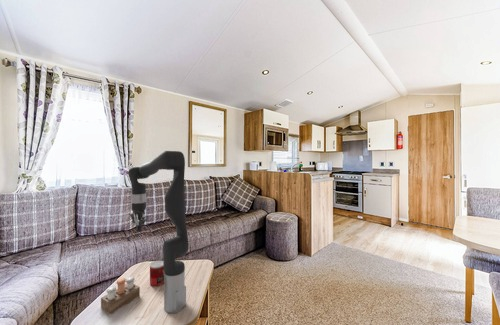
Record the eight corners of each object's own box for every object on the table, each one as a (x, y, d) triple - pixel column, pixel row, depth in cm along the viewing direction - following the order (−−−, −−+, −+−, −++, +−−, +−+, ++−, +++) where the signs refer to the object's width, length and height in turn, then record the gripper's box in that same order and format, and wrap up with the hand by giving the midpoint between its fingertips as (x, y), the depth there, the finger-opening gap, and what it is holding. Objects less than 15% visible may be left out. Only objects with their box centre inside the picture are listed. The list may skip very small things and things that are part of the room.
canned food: (159, 287, 112) (159, 268, 112) (146, 285, 113) (146, 266, 113) (167, 279, 119) (167, 261, 119) (155, 278, 121) (155, 259, 121)
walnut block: (139, 296, 105) (139, 286, 105) (110, 314, 93) (110, 303, 92) (130, 291, 109) (130, 282, 109) (101, 308, 96) (101, 297, 96)
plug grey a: (117, 305, 97) (117, 287, 97) (109, 310, 94) (109, 292, 94) (113, 302, 99) (113, 285, 99) (104, 307, 96) (104, 289, 96)
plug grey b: (135, 294, 105) (136, 278, 105) (128, 299, 102) (128, 281, 102) (131, 292, 107) (131, 275, 107) (124, 296, 104) (124, 279, 104)
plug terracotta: (127, 296, 101) (127, 279, 101) (119, 301, 98) (119, 283, 98) (122, 294, 103) (122, 277, 103) (114, 298, 100) (114, 281, 100)
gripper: (152, 201, 117) (152, 231, 118) (138, 199, 123) (137, 227, 124) (139, 204, 111) (139, 235, 111) (125, 201, 117) (125, 231, 117)
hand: (138, 231), depth 117 cm, fingers closed
